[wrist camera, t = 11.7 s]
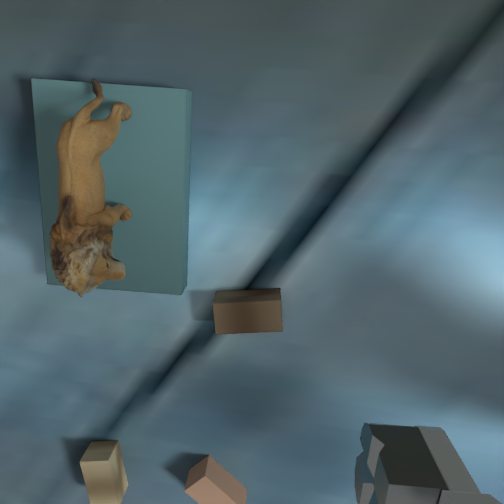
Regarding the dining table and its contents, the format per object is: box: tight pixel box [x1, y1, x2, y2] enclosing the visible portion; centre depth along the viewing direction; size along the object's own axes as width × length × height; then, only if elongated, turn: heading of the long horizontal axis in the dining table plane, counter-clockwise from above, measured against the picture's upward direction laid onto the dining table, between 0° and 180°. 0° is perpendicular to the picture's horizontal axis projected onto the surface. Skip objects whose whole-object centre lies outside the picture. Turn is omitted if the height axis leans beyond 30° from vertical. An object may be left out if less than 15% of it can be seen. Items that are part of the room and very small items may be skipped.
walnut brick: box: [213, 288, 283, 334], centre depth 38 cm, size 6×3×3 cm, turn 94°
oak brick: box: [80, 440, 128, 504], centre depth 44 cm, size 6×3×3 cm, turn 6°
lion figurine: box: [49, 79, 132, 297], centre depth 30 cm, size 15×5×9 cm, turn 3°
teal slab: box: [31, 78, 192, 295], centre depth 35 cm, size 12×17×2 cm
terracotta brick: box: [184, 455, 247, 504], centre depth 44 cm, size 6×3×3 cm, turn 43°
